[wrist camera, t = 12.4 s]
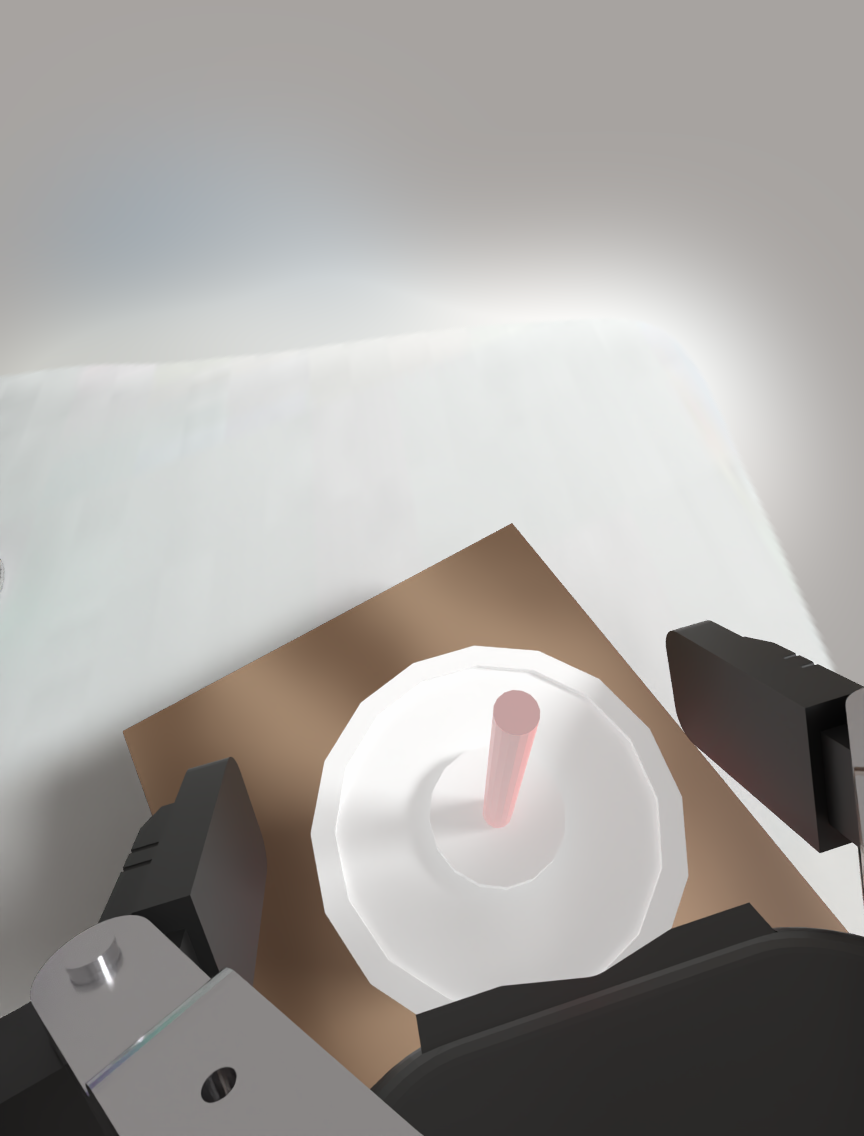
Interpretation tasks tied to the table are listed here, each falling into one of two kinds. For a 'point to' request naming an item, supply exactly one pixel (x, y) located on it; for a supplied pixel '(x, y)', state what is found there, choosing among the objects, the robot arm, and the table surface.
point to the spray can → (1, 574)
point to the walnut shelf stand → (324, 708)
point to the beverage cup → (495, 828)
